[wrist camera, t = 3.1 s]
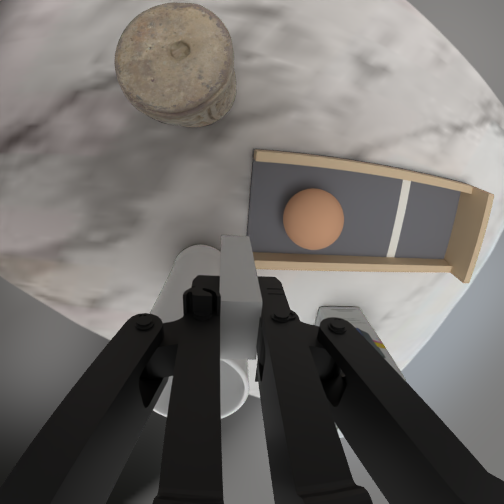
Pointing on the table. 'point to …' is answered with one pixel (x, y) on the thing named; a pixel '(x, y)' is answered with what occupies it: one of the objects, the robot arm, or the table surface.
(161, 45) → the carving
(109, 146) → the table surface
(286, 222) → the ball
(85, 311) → the table surface
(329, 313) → the ink box
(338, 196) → the lane
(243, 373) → the drinking glass
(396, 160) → the table surface
